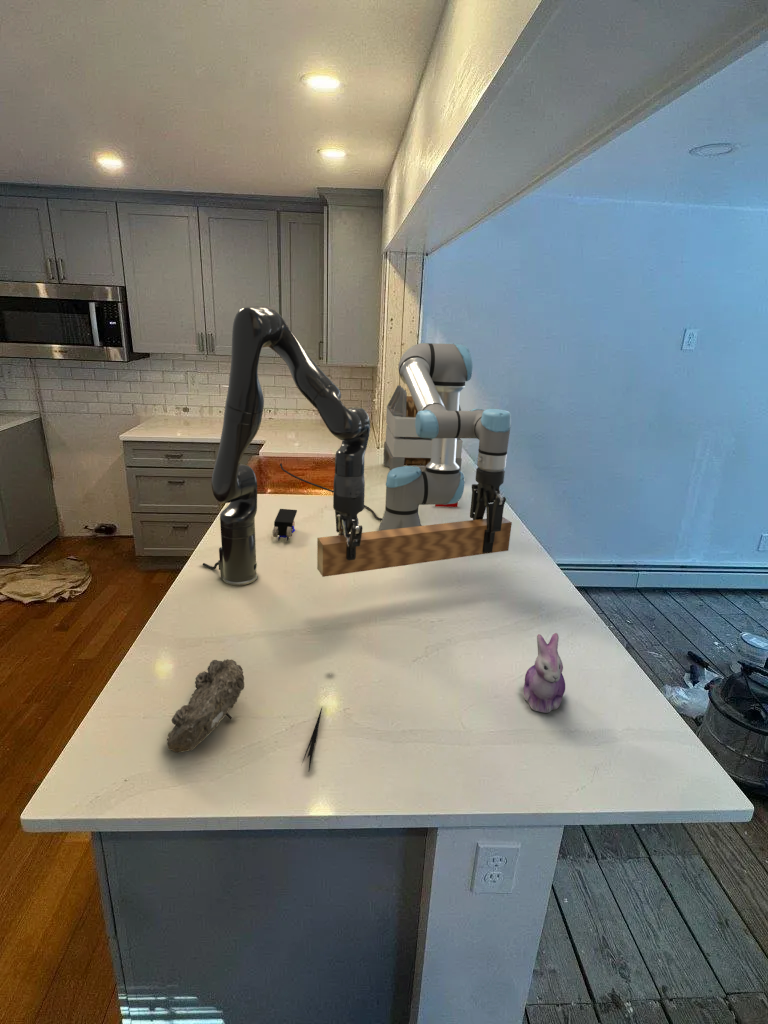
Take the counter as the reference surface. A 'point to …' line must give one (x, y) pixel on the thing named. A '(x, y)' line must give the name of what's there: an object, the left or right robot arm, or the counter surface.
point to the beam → (408, 546)
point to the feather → (313, 740)
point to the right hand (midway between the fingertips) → (482, 548)
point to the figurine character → (284, 523)
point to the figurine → (545, 677)
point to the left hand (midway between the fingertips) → (347, 554)
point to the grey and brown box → (407, 435)
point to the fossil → (206, 705)
